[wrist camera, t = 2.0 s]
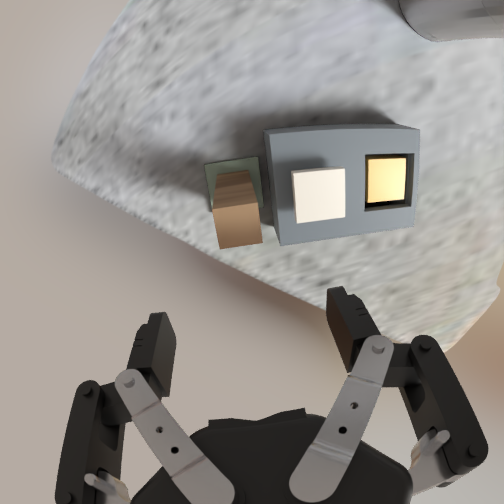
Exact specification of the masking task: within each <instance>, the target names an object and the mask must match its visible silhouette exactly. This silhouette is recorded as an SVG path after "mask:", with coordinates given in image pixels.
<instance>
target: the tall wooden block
mask: <svg viewBox="0 0 504 504" xmlns="http://www.w3.org/2000/svg"><path fill="white" fill-rule="evenodd" d="M212 212H213V217H214V222H215V227H216V232H217V237H218V242H219V247H220V249H225V248H232V247H238V246H245V245H252V244H259V243H263V242H262V234H261V226H260V218H259V210H258V202H257V199H256V195H255V192H254V188H253V185H252V181H251V178H250V174H249V171H248V170H243V171H236V172H230V173H223V174H217V178H216V185H215V192H214V199H213V206H212Z"/></svg>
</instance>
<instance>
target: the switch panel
mask: <svg viewBox="0 0 504 504" xmlns="http://www.w3.org/2000/svg"><path fill="white" fill-rule="evenodd" d="M263 132H264V141H265V149H266V158H267V166H268V175H269V184H270V193H271V203H272V212H273V222H274V228H275V231H276V234H277V237H278V240H279V243H280V246H285V245H292V244H299V243H305V242H312V241H319V240H326V239H333V238H340V237H347V236H353V235H360V234H367V233H374V232H381V231H388V230H395V229H402V228H409V227H414V220H415V212H416V202H417V191H418V177H419V155H420V130H419V129H415V128H411V127H407V126H403V125H399V124H331V125H312V126H298V127H286V128H276V129H266V130H263ZM365 154H391V155H399V156H402V157H404V158H406V172H405V191H404V199H400V200H390V203H389V205H387V206H378V207H369V208H365ZM338 166H342V167H343V168H345V217H343V218H335V219H327V220H320V221H312V222H305V223H296V221H295V215H294V201H293V188H292V175H291V171H292V170H300V169H310V168H321V167H338Z"/></svg>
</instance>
